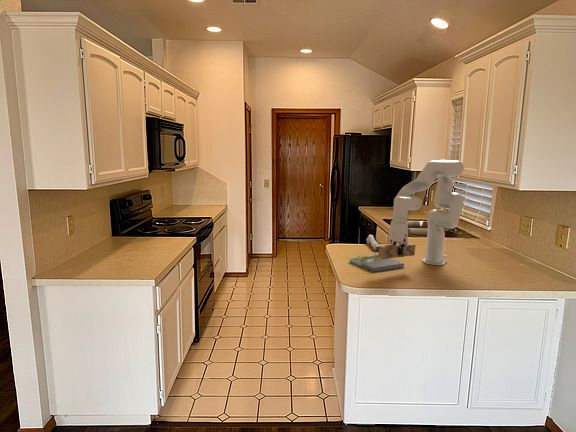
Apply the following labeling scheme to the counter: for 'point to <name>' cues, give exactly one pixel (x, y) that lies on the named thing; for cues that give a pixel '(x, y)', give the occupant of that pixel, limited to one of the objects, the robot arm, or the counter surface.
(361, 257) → the brass block
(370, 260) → the teal tray
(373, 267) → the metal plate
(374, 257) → the brass block
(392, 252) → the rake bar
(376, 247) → the white long cylinder
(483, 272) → the counter surface
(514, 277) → the counter surface
